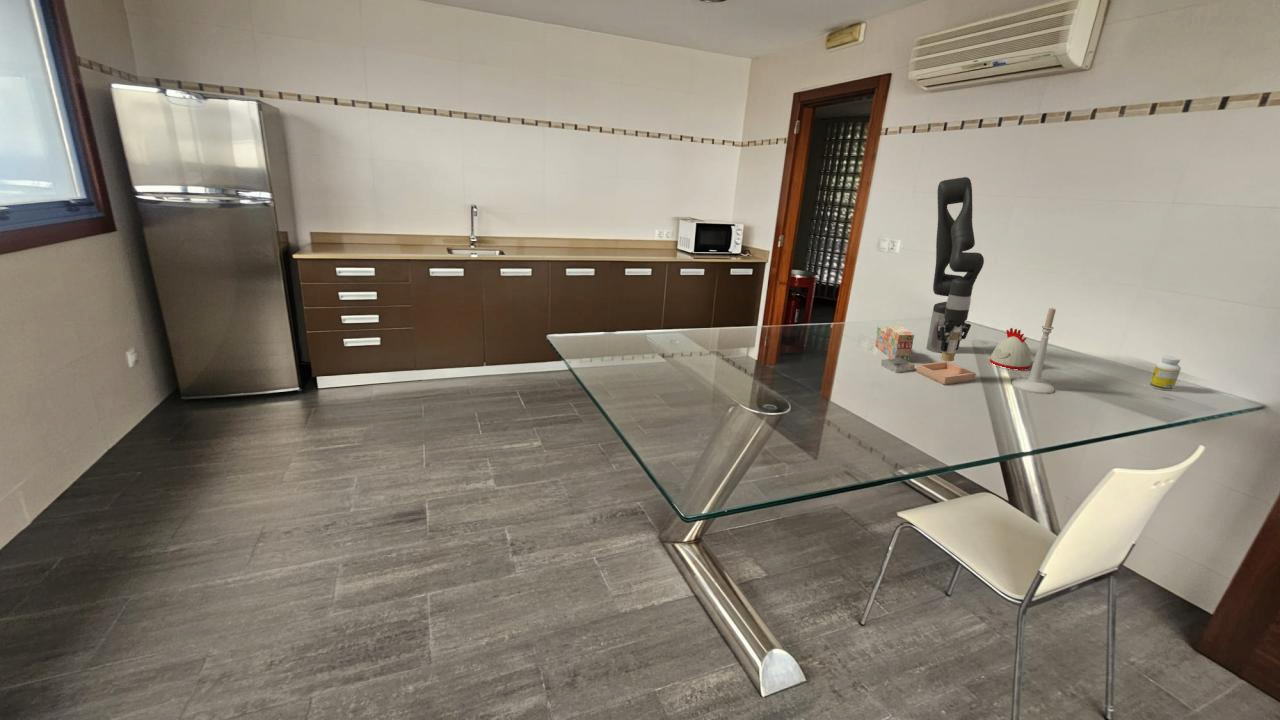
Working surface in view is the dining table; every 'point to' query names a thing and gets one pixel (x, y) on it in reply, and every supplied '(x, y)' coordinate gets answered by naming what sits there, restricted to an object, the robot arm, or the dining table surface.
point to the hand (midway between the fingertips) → (949, 350)
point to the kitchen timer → (1012, 352)
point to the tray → (946, 373)
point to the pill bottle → (1166, 373)
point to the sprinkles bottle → (951, 346)
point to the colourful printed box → (895, 342)
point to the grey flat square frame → (893, 362)
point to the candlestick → (1038, 364)
